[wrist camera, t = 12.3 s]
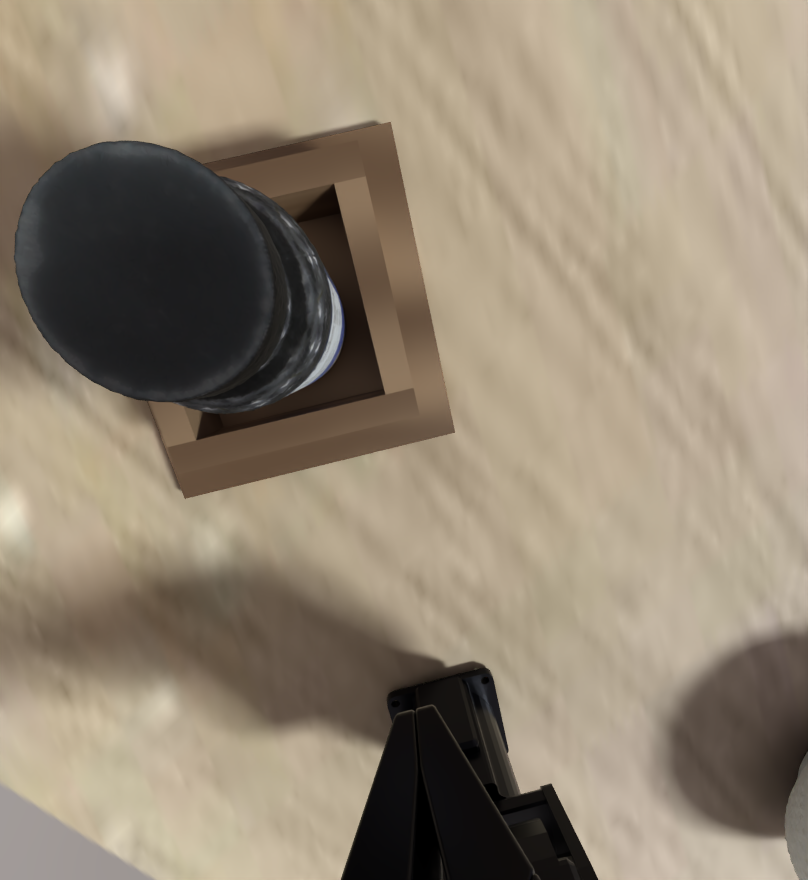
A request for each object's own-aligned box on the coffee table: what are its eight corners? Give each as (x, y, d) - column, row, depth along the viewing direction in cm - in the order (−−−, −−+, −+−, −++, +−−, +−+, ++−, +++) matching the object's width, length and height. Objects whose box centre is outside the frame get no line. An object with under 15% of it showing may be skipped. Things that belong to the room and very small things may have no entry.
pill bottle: (184, 302, 17) (-119, 215, 7) (296, 225, 17) (165, 3, 6) (268, 414, 19) (127, 493, 8) (373, 345, 18) (372, 330, 8)
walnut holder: (452, 430, 20) (468, 445, 17) (190, 494, 20) (151, 524, 16) (390, 129, 17) (394, 71, 14) (78, 200, 17) (-1, 158, 13)
